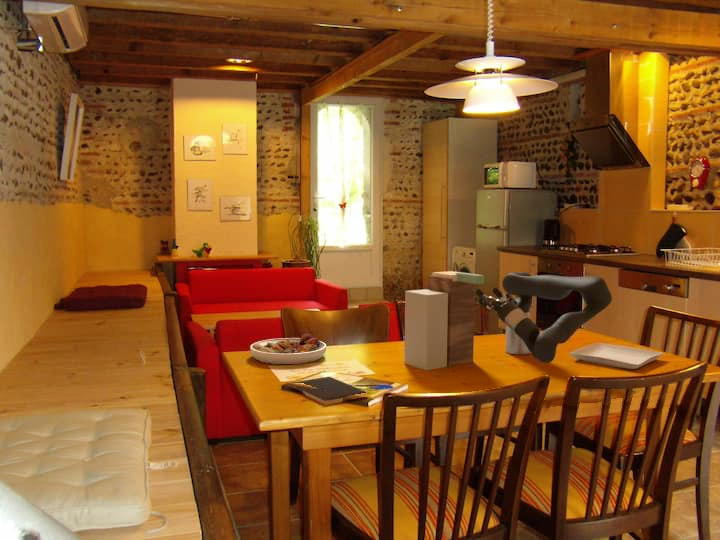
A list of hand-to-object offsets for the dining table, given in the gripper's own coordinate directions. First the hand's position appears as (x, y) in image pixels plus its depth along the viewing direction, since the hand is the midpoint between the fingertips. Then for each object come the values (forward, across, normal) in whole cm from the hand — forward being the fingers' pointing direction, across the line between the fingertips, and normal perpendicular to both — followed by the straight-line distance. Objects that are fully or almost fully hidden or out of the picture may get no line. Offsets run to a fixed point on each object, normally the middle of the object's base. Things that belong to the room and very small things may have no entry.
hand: (485, 289), depth 248 cm
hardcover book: (-9, +63, +30) cm, 71 cm away
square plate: (-30, -56, +18) cm, 66 cm away
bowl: (+35, +50, +56) cm, 83 cm away
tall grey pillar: (+1, +13, +35) cm, 37 cm away
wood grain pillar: (+1, 0, +35) cm, 35 cm away
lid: (+13, 0, +5) cm, 14 cm away
